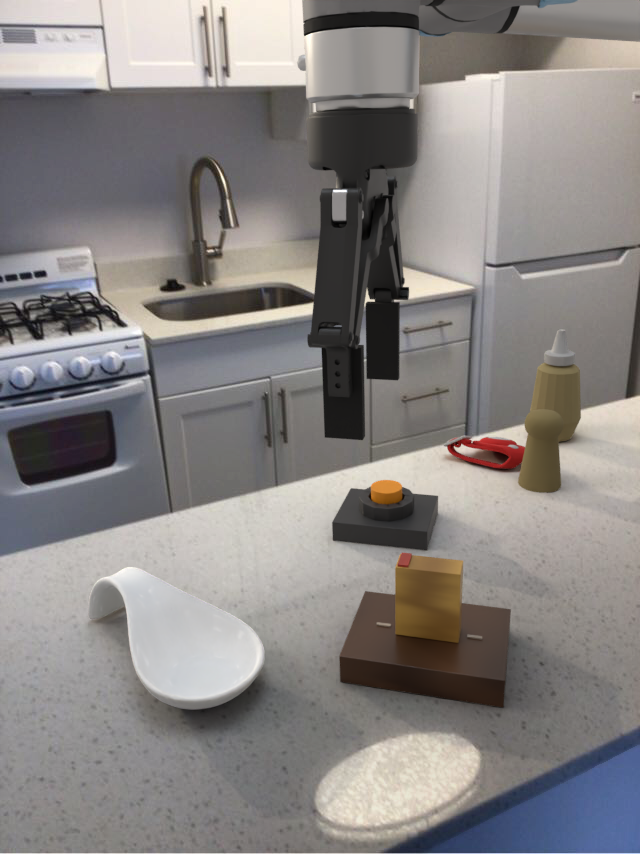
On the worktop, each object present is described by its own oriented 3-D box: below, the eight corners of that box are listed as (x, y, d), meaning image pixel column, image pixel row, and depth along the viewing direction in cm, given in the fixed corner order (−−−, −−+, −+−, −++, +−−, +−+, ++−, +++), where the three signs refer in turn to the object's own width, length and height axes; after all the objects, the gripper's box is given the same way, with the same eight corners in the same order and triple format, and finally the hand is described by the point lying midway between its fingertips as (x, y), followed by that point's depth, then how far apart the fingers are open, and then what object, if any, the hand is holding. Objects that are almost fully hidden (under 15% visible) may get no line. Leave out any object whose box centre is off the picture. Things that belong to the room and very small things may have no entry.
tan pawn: (509, 484, 109) (513, 412, 105) (533, 471, 113) (538, 401, 109) (545, 497, 105) (551, 423, 101) (569, 483, 109) (576, 411, 105)
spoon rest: (291, 682, 71) (287, 619, 69) (190, 753, 64) (182, 684, 61) (150, 590, 87) (142, 535, 84) (55, 637, 79) (43, 578, 77)
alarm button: (404, 493, 99) (404, 481, 98) (399, 507, 95) (399, 494, 94) (374, 490, 100) (374, 478, 99) (368, 504, 96) (367, 491, 95)
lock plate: (509, 633, 77) (511, 607, 76) (503, 708, 67) (505, 679, 66) (365, 614, 81) (365, 589, 80) (340, 682, 71) (338, 654, 70)
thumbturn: (461, 627, 73) (463, 558, 71) (458, 643, 71) (460, 572, 68) (399, 619, 75) (399, 551, 72) (395, 634, 73) (395, 564, 70)
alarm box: (437, 513, 102) (438, 483, 100) (427, 551, 93) (427, 518, 91) (351, 505, 105) (350, 476, 103) (332, 540, 96) (331, 509, 94)
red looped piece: (506, 436, 123) (543, 443, 114) (503, 463, 123) (539, 472, 114) (440, 430, 119) (473, 437, 110) (437, 458, 119) (469, 467, 110)
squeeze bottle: (531, 425, 130) (538, 323, 124) (580, 430, 127) (590, 325, 121) (525, 442, 123) (532, 335, 117) (577, 447, 120) (587, 337, 114)
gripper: (350, 112, 63) (355, 358, 71) (242, 104, 41) (266, 465, 48) (441, 108, 61) (435, 361, 69) (379, 97, 39) (382, 475, 46)
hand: (365, 405), depth 58 cm, fingers open, 13 cm apart
